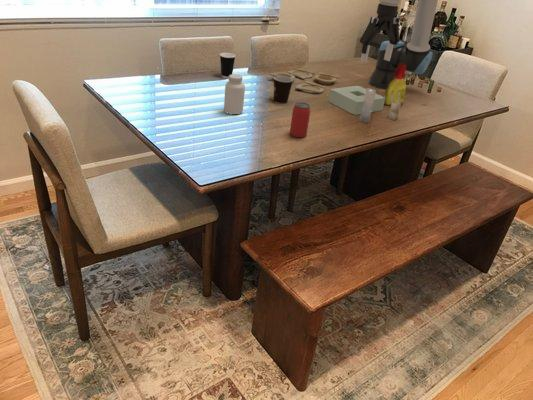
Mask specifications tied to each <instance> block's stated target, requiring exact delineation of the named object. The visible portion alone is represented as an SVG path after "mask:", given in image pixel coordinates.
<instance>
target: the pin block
mask: <svg viewBox="0 0 533 400" xmlns="http://www.w3.org/2000/svg"><path fill="white" fill-rule="evenodd" d="M366 89H367V88H365V87H363V86H360V85H351V86H344V87H343V86H342V87H337V88H330V90H329V94H328V99H327V101H328V102H329V103H331V104H332V105H334V106H336V107H338V108H340V109H342V110H344V111H346V112H347V113H349V114H352V115H353V114H354V115H353V116H356V115H357V116H358V115H361V111H362V107H363V102H364V98H365V94H366ZM384 102H385V96H382V95H380V94H378V93H376V94H375V98H374V102H373V106H372V110H371V113H374V112H381V111H383V110H384V106H385V103H384Z"/></svg>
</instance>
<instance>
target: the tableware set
mask: <svg viewBox="0 0 533 400" xmlns="http://www.w3.org/2000/svg"><path fill="white" fill-rule="evenodd" d="M314 74H315V71H313V70H304V69H300V68H295V67H294V68H293V69H292V70H289V71H287V72H283V71H281V72H280V71H279V72H278V71H276V72H273V73H272V72H268V75H269V76H272V77H273V78H274V77H276V76H285V77H289V78H291V79H293V80H294V79H295V78H298V79H299V78H300V79H302V80H305V79H310V78H312V77H313V75H314ZM313 78H314V80H316V81H317V82H318V83H314V82H313V81H308V80H305V81H304V83H299V84H297V85H295V87H294V89H297V90H299V91H302V92H304V93H309V94H322V93H323V92H324V90H325V88H326V86H328V85H331V84H332V83H335V82H336V81H337V79H340V78H341V77H340V76H338V75H332V74H328V73H325V72H322V71H319V72H318V74H316V75H314V77H313ZM324 85H326V86H324Z"/></svg>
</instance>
